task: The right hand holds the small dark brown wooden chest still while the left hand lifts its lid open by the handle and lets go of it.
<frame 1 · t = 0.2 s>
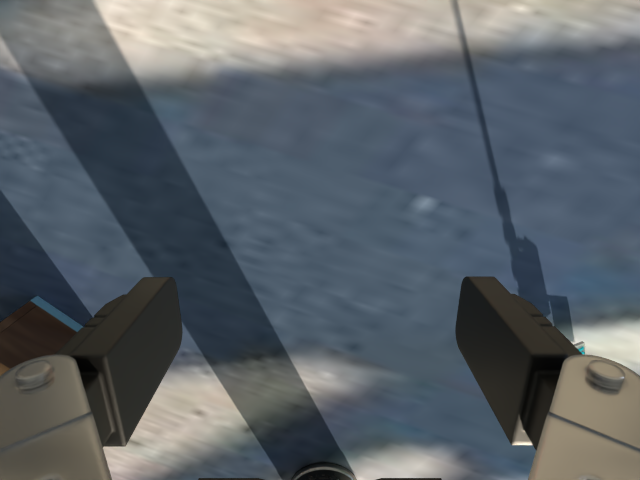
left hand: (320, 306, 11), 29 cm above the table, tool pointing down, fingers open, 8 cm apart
chest: (39, 368, 47), on the table
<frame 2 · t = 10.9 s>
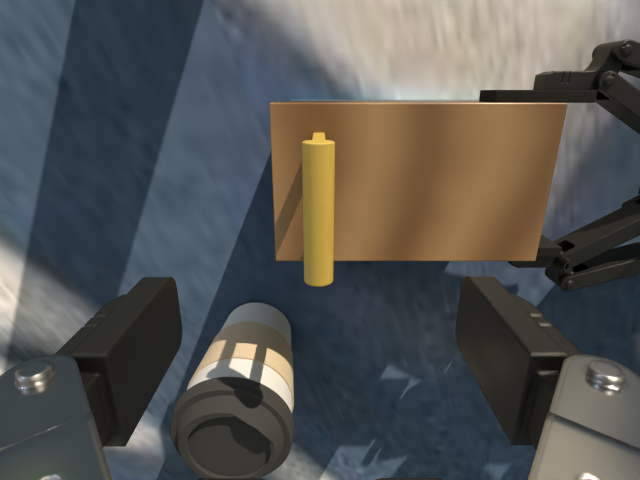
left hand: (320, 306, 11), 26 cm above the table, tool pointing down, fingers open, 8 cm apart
chest: (388, 160, 35), on the table, touching right hand
lid: (422, 198, 23), point 13 cm above the table, hinge at 0.0°
coffee cup: (258, 330, 41), on the table
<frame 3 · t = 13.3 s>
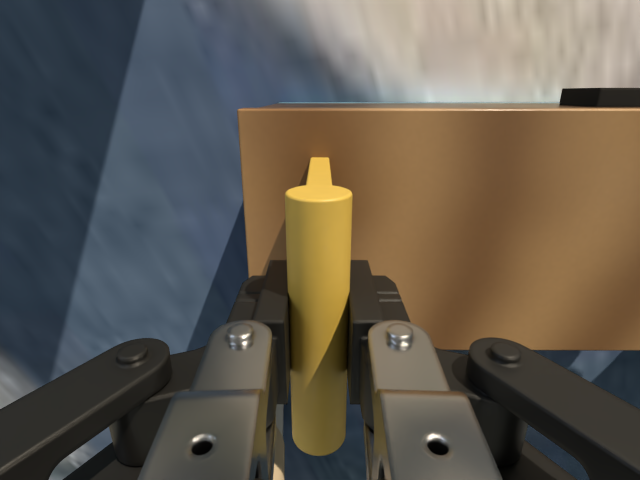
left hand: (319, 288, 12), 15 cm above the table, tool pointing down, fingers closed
chest: (414, 185, 26), on the table, touching right hand
lid: (496, 273, 13), point 13 cm above the table, hinge at -0.1°, touching left hand
coffee cup: (241, 400, 32), on the table
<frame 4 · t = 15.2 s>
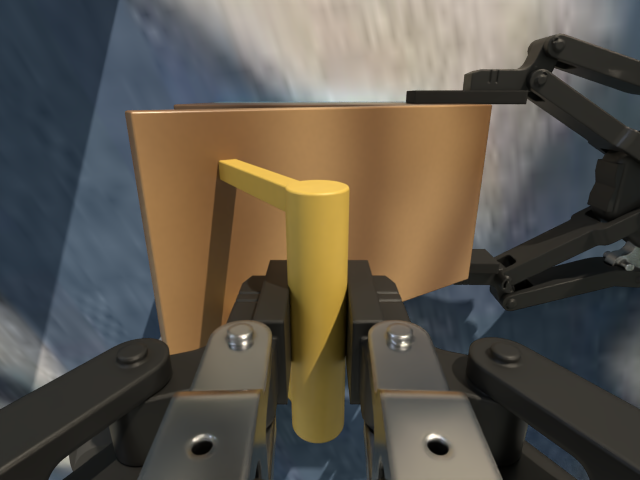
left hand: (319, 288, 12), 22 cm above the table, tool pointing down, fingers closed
right hand: (404, 184, 26), fingers closed on chest, 10 cm apart
chest: (325, 167, 33), on the table, touching right hand
lid: (398, 241, 16), point 18 cm above the table, hinge at 33.7°, touching left hand
coffee cup: (198, 346, 39), on the table
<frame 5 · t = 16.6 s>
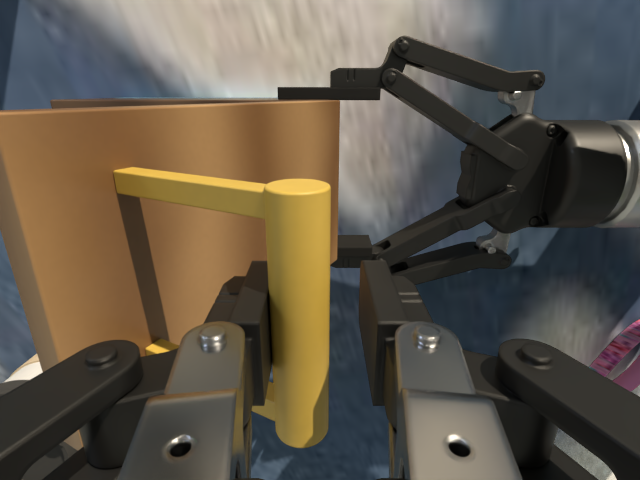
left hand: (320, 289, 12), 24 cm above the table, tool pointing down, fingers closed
right hand: (282, 174, 28), fingers closed on chest, 10 cm apart
chest: (229, 159, 35), on the table, touching right hand
headband: (613, 358, 42), on the table
lid: (306, 233, 17), point 19 cm above the table, hinge at 61.5°
coffee cup: (121, 331, 41), on the table
when the right hand's fingers open (7 cm above the table, at t = 20.6 s): chest stays where it is, on the table.
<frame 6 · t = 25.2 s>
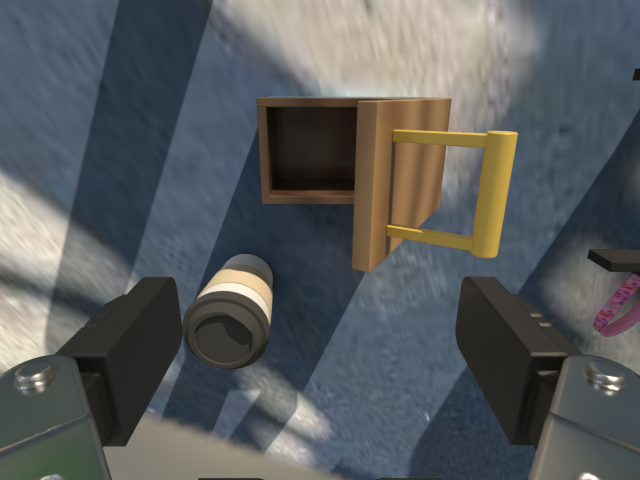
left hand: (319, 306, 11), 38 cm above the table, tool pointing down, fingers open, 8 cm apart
chest: (342, 142, 47), on the table
headband: (624, 298, 54), on the table
lid: (455, 173, 29), point 19 cm above the table, hinge at 60.5°
coffee cup: (247, 276, 53), on the table
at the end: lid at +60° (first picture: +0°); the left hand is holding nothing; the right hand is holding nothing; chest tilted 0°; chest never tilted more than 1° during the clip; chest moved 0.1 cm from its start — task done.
